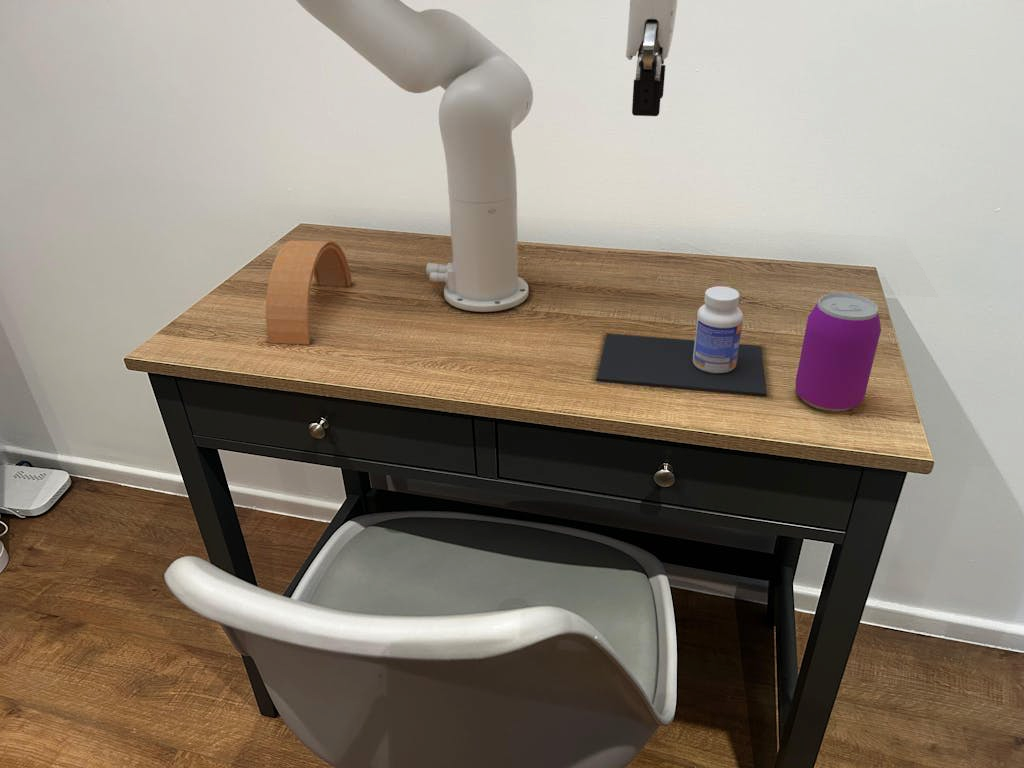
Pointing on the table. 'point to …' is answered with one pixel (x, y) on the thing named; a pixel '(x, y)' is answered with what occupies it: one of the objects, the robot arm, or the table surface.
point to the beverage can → (838, 352)
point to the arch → (300, 286)
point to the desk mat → (677, 366)
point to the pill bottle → (718, 331)
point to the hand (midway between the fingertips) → (647, 106)
